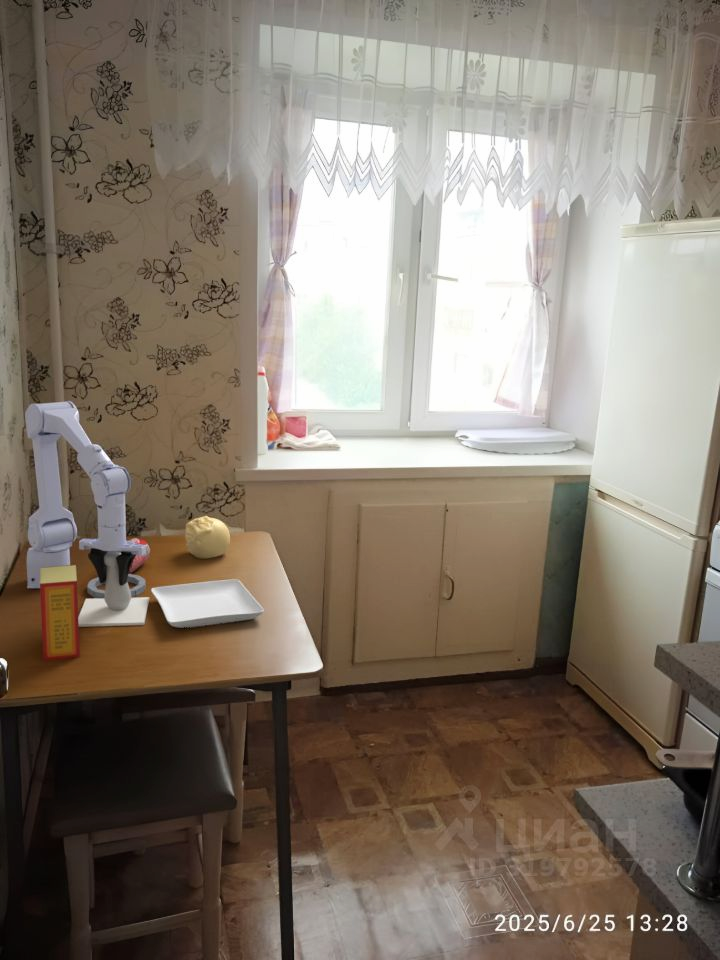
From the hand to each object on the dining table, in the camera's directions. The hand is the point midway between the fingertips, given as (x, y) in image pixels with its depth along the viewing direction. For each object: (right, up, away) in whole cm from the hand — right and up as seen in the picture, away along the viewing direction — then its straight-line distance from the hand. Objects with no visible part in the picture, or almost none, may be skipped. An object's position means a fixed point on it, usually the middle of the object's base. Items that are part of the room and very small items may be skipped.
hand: (113, 582), depth 170 cm
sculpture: (+12, +2, +42) cm, 44 cm away
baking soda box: (-5, -11, -16) cm, 20 cm away
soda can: (-4, +4, +33) cm, 34 cm away
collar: (-4, -3, +15) cm, 16 cm away
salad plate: (+19, -8, +6) cm, 21 cm away
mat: (0, -7, +2) cm, 7 cm away
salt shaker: (0, -6, +3) cm, 7 cm away
